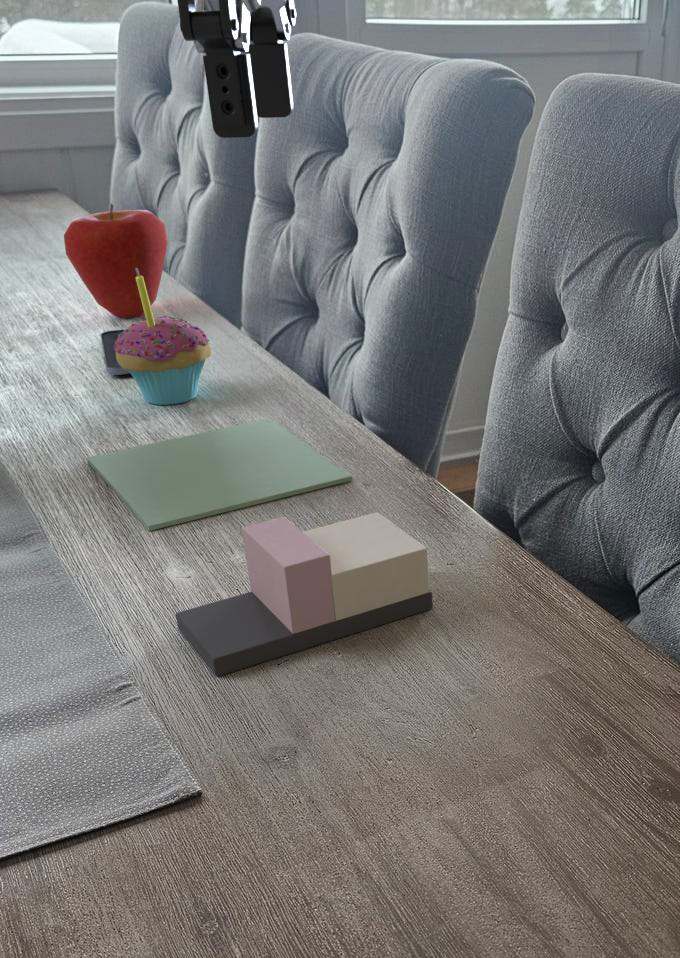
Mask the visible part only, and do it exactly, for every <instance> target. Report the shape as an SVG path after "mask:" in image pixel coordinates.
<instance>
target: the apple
mask: <svg viewBox="0 0 680 958" xmlns="http://www.w3.org/2000/svg"><path fill="white" fill-rule="evenodd" d="M166 229H167V228H166V225H165V223H164V222H163V221H162V220H161V219H160V218H159V217H158V216H156V214H154V213H153V212H152V211H149V210H147V209H122V210H114V205H113V204H112V202H110V207H109V211H102V212H96V213H90V214H86V215H83V216H80V217H76V218H73V219H71V222H70V223H69V225H68V227H67V228H66V230H65V232H64V234H63V241H64V250H65V251H64V252H65V255H66V257H67V259H68V260H69V262H70V263H71V265H72V267H73V268H74V270H75V271H76V273H77V275H78V276H79V278H80V279H81V281H82V283H83V284H84V286H85V287H86V288H87V290H88V291H89V293H90V294H91V296H92V297H93V299H94V300H95V302H96V303H97V305H99V306H100V307H102V308H103V309H105V310H106V311H107V312H108V313H110V314H111V315H112V316H114V317H117V318H135V317H141V316H145V313H144V309H143V305H142V301H141V297H140V293H139V289H138V286H137V282H136V277H137V273H136V270H135V268H137V269H138V271H139V274H140V276H143V278H144V282H145V286H146V290H147V294H148V298H149V302H150V306H151V307H152V305H153V304H154V303H155V302H156V300H157V297H158V292H159V288H160V284H161V280H162V275H163V271H164V265H165V261H166V260H165V259H166V254H167V249H168V245H169V244H168V237H167V230H166Z"/></svg>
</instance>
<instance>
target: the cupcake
mask: <svg viewBox="0 0 680 958" xmlns="http://www.w3.org/2000/svg"><path fill="white" fill-rule="evenodd" d="M135 270H136V273H137V277H136V282H137V286H138V289H139V293H140V297H141V301H142V305H143V309H144V313H145V314H144V316H145V319H144V320H142V321H139V322H136V323H131V324H130V326H128V327H127V328H124V329H125V330H124V329H123V330H124V331H123V332H122V334H119V335H118V339H117V340H116V342H115V346H114V350H115V352H116V359H117V362H118V363H119V365H120V366H121V367H122V368H124V369H127V370H129V372H130V373H129V374H130V375H131V377H132V378H133V380H134V381H135V383H136V385H137V386H138V388H139V390H140V392H141V394H142V396H143V399H144V400H145V401H146V402H147V403H148V404H152V405H157V406H170V405H171V406H172V405H178V404H182V403H186V402H189V401H192V400H193V399H195V398H196V397H197V396H198V390H199V382H200V378H201V373H202V370H203V367H204V365H205V363H206V361H207V360H206V359H207V358H209V357H211V355H212V351H211V346H210V345H211V344H210V340H209V339H208V337H207V336H208V335H207V334H206V333H205V331H204V330H202V328H201V327H199V326H197V325H194V324H192V323H190V322H188V321H187V320H184V319H182V318H176V317H172V316H168V317H167V316H166V315H163V316H158V317H154V314H153V310H152V305H151V306H150V302H149V298H148V294H147V290H146V286H145V282H144V278H143V276H140V274H139V271H138V269H137V268H135Z"/></svg>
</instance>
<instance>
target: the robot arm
mask: <svg viewBox="0 0 680 958" xmlns="http://www.w3.org/2000/svg"><path fill="white" fill-rule="evenodd" d="M176 2H177V7H178V15H179V29H180V31H181V33H182V37H183V39H184V40H185V41H186V42H193V44H194V46H195V49H196V52H197V53H198V54H204V55H202V59H203V66H204V75H205V81H206V89H207V94H208V101H209V103H208V104H209V109H210V116H211V124H212V130H213V131H214V134H216V136H218V137H219V138H222V139H228V138H231V139H232V138H250V137H252V136H254V135H255V134H256V133H257V132H258V130H259V119H258V118H262V119H271V118H272V119H273V118H274V119H275V118H286V117H289V116H290V115H292V114H293V112H294V97H293V88H292V79H291V70H290V61H289V51H288V43H287V42H289V41H290V40H291V39H290V38H291V34H292V27H295V26H296V20H297V10H296V8H295V1H294V0H177V1H176Z"/></svg>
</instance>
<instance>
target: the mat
mask: <svg viewBox="0 0 680 958" xmlns="http://www.w3.org/2000/svg"><path fill="white" fill-rule="evenodd" d="M86 461H87V463H88V464H89V465H90V466H91V467H92V468H93V470H94V471H95V472H96V473H97V474H98V475H99V477H101V478H102V480H103V481H104V482H105V483H106V484H107V485H108V487H110V489H111V490H112V491H113V492H114V493H115V494H116V496H117V497H118V498H119V499H120V500H121V501H122V502H123V503H124V505H125V506H127V508H129V510H130V511H131V512H132V513H133V514H134V516H135V517H136V518H137V519H138V520H139V521H140V523H142V525H144V527H145V528H146V529H147V530H148V531H149V532H152V531H155V530H160V529H164V528H167V527H171V526H176V525H180V524H184V523H188V522H193V521H196V520H199V519H200V520H201V519H205V518H207V517H212V516H216V515H220V514H225V513H228V512H232V511H236V510H240V509H244V508H248V507H252V506H255V505H260V504H264V503H268V502H272V501H276V500H280V499H284V498H289V497H293V496H296V495H300V494H303V493H308V492H312V491H316V490H320V489H324V488H329V487H332V486H335V485H336V486H337V485H340V484H344V483H348V482H352V481H353V476H352V474H350V473H349V472H347V471H345V470H344V469H342V468H341V467H340V466H339V465H337V464H336V463H334V462H333V461H332V460H330V459H329V458H327V456H324V455H323V454H322V453H320V451H319V452H318V451H317V450H316V449H314V448H313V447H311V446H310V445H309V444H308V443H306V442H305V441H303V440H302V439H300V438H299V436H296V435H295V434H293V433H292V432H291V431H289V430H288V429H286V428H285V427H284V426H282V425H281V424H279V423H278V422H276V421H275V420H274V419H272V418H271V417H269V418H265V419H260V420H256V421H250V422H245V423H241V424H237V425H231V426H228V427H223V428H219V429H214V430H208V431H205V432H203V431H202V432H200V433H194V434H190V435H186V436H181V437H180V436H179V437H176V438H171V439H167V440H162V441H158V442H157V441H156V442H153V443H148V444H143V445H139V446H134V447H130V448H124V449H119V450H115V451H111V452H106V453H102V454H97V455H92V456H88V457H86Z"/></svg>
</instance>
